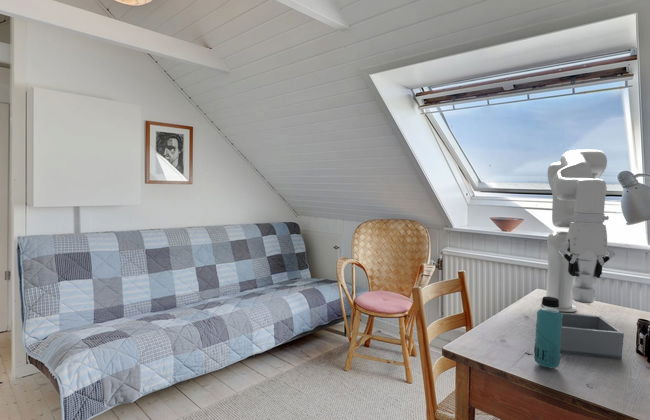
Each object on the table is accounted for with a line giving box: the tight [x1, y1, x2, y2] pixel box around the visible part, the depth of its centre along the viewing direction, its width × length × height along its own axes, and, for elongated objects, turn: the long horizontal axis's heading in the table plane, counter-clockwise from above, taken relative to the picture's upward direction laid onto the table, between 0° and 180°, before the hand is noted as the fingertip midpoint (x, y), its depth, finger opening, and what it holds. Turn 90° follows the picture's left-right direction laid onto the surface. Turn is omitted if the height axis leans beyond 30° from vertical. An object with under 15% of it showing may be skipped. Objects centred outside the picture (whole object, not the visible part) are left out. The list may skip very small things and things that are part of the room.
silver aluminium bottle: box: [571, 251, 598, 304], centre depth 123 cm, size 6×7×20 cm
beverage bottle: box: [533, 296, 563, 369], centre depth 109 cm, size 6×7×20 cm
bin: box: [560, 312, 625, 361], centre depth 124 cm, size 15×17×8 cm
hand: (584, 275), depth 123 cm, fingers closed on silver aluminium bottle, 6 cm apart
